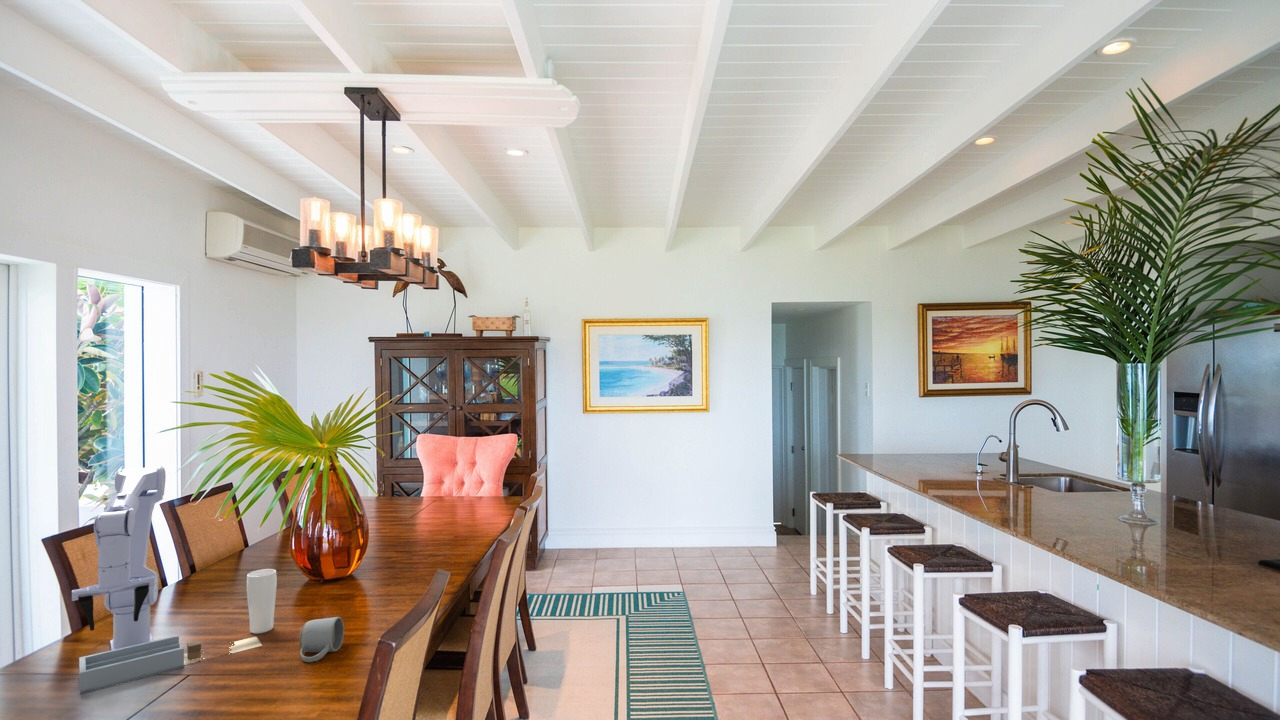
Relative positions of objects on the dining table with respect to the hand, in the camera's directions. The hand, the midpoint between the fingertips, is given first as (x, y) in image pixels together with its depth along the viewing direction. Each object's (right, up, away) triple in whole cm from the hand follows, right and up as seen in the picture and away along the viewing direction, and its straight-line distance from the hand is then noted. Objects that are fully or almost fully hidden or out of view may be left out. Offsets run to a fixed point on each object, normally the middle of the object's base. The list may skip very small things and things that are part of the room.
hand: (114, 624), depth 146 cm
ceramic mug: (+43, -10, +8) cm, 45 cm away
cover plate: (+18, -11, +10) cm, 23 cm away
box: (+5, -10, -1) cm, 12 cm away
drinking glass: (+21, -11, +22) cm, 32 cm away
